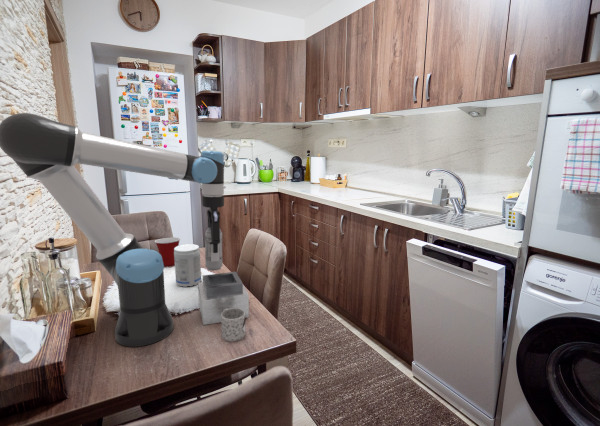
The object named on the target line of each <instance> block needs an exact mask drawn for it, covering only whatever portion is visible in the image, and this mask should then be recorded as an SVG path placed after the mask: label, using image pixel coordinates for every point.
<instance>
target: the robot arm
mask: <svg viewBox="0 0 600 426" xmlns="http://www.w3.org/2000/svg"><path fill="white" fill-rule="evenodd" d="M0 149H1V151H3V153H4V154H6V155H7V156H8V157H9V158H11V159H12V160H13V162H14V163H15V164H16V165H17V166H18V168H19V169H20V170H21V171H22V172H23V173H24V174H25V175H26V177H27V178H29V179H32V180H33V179H34V180H37V181H39V182H40V183H41V185H43V186H44V188H45V189H46V190H47V191H48V192H49V194H50V195H51V196H52V197H53V199H54V200H55V201H56V202H57V203H58V204H59V206H60V207H61V208H62V210H63V211H64V212H65V213H66V214H67V215H68V217H69V218H70V220H72V221H73V222H74V224H75V225H76V226H77V227H78V229H79V230H80V231H81V232H82V234H83V235H84V236H85V237H86V238H87V240H88V241H89V242H90V243H91V244H92V245H93V247H94V248H95V249H96V255H95V258H96V259H97V260H98V262H99V263H100V264H101V265H102V266H103V268H104V269H105V270H106V272H107V273H108V274H109V275H110V276H111V277H112V279H113V281H114V283H115V285H117V290H118V298H119V299H118V300H119V309H120V310H119V315H118V318H117V320H116V321H117V323H116V326H115V328H114V329H115V330H114V336H115V337H114V338H115V341H116V343H117V344H119V345H121V346H124V347H132V348H135V347H143V346H147V345H152V344H154V343H157V342H160V341H161V340H163V339H165V338H166V337H168V336H169V335H170V334H172V332H173V329H174V320H173V316H172V315H171V313H170V310H169V308H168V305H167V303H166V294H165V293H166V291H165V276H164V275H165V274H164V268H165V266H164V265H163V260H162V256H161V255H160V253H159V251H157V250H155V249H149V248H143V246H142V245H141V243H139V241H138V239H137V238H136V237H135V235H134V234H132V233H126V232H125V231H124V230H123V228H122V227H121V225H119V223H118V222H117V221H116V219H115V218H114V216H112V214H111V213H110V211H109V210H108V208H107V207H106V206H105V205H104V204H103V202H102V201H101V200H100V198H99V197H98V195H97V194H96V193H95V192H94V191H93V189H92V188H91V186H90V185H89V184H88V183H87V181H86V180H85V179H84V177H83V176H82V175H81V173H80V172H79V171H78V169H77V168H76V167H75V166H76V165H84V166H85V165H86V166H92V167H98V168H104V169H105V168H106V169H111V170H118V171H123V172H131V173H136V174H137V173H138V174H144V175H150V176H154V177H155V176H156V177H162V178H167V179H169V180H176V181H178V180H181V181H186V182H193V183H194V182H195V183H198V184H201V194H202V197H201V203H202V204H201V205H202V207H204V208H208V209H206V215H207V228H210V227H211V241H212V242H210V243H209V244H211V262H213V261H219V243H220V230H221V227H220V226H221V225H220V221H221V219H220V218H221V213H220V210H218V209H219V208H222V207H224V206H225V196H224V194H225V189H226V185H225V181H224V180H225V161H224V160H225V159H224V153H223V152H222V151H216V150H214V151H213V150H211V151H210V150H202V151H201V154H200V156H197V155H196V156H195V155H191V154H186V153H182V152H177V151H172V150H169V149H163V148H157V147H154V146H149V145H144V144H140V143H135V142H130V141H127V140H126V141H125V140H121V139H116V138H112V137H111V138H110V137H106V136H101V135H97V134H94V133H93V134H91V133H88V132H84V131H81V130H80V129H79V127H78V126H76V125H75V126H74V125H70V124H68V123H67V124H66V123H62V122H59V121H57V120H52V119H50V118H47V117H44V116H41V115H38V114H35V113H30V112H18V113H14V114H12V115H9V116H7V117H5V118H4V119H3V120H2V121H1V122H0Z"/></svg>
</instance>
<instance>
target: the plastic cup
mask: <svg viewBox="0 0 600 426" xmlns="http://www.w3.org/2000/svg"><path fill="white" fill-rule="evenodd" d="M180 241H181V238H180V237H163V238H158V239H155V240H154V243H155V245H156V247H157V250H158V253H160V255H161V256H162V260H163V265H164V267H173V266H175V260H174V248H175V247H177V246H179V244H180Z"/></svg>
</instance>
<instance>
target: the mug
mask: <svg viewBox="0 0 600 426" xmlns="http://www.w3.org/2000/svg"><path fill="white" fill-rule="evenodd" d="M220 323H221V325H220V326H221V338H222V339H223V340H224V341H225V342H237V341H240V340H242V339H243V338H245V336H246V318H245V312H244V310H242V309H239V308H231V309H224V311H223V312H222V313H221V322H220Z"/></svg>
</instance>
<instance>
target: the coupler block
mask: <svg viewBox="0 0 600 426" xmlns="http://www.w3.org/2000/svg"><path fill="white" fill-rule="evenodd" d="M197 288H198V289H197V293H198V307H200V308H199V312H200V317H201V321H202V325H203V326H206V325H212V324H218V323H221V313H222V312H223V311H224V309H231V308H239V309H242V310H244V312H245V319H247V318H249V317H250V311H249V310H250V307H249V305H250V303H249V301H250V300H249V297H250V294H249V292H248V290H247V288H246V287H245V285H244V284H243V281H242V280H241V278H240V276H239V275H238V272H236V271H230V272H229V271H228V272H221V273H212V274H205V275H202V282H200V283H198V284H197Z"/></svg>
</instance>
